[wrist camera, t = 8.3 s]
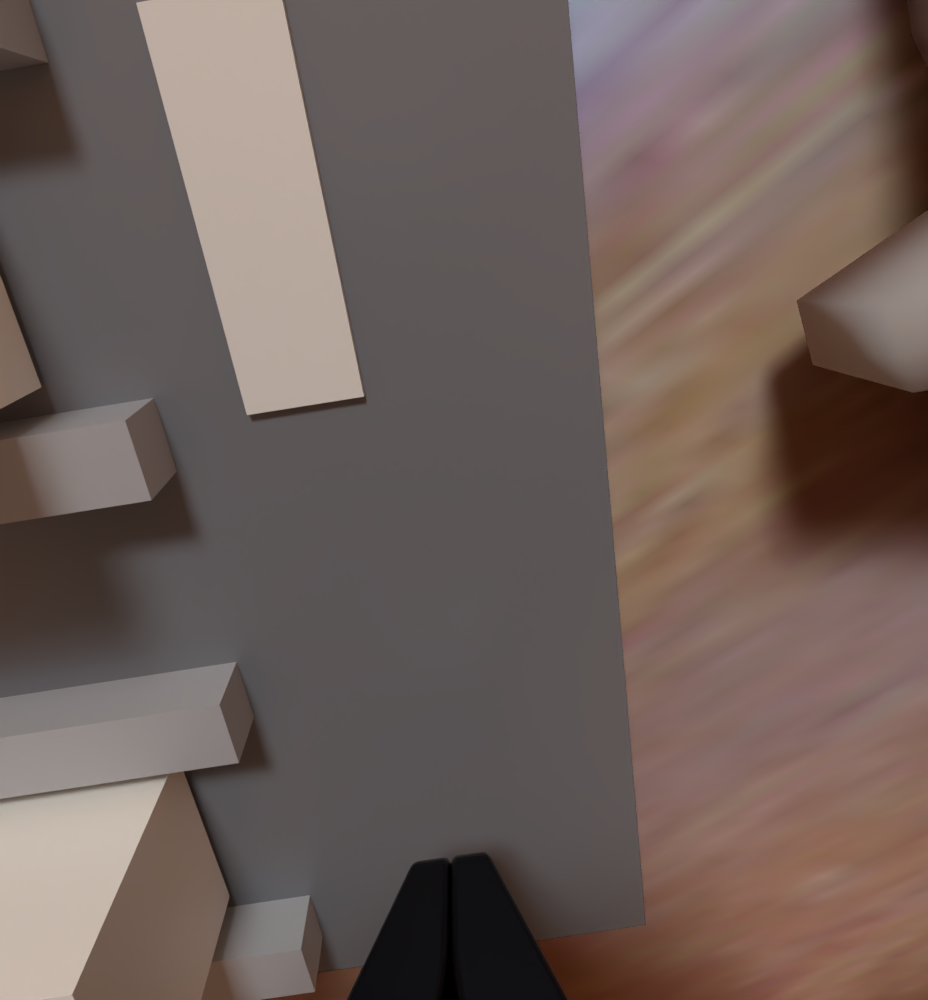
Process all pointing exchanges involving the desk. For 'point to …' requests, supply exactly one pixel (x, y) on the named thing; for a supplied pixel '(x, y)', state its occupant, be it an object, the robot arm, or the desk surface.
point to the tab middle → (13, 356)
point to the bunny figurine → (878, 297)
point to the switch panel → (314, 455)
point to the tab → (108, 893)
